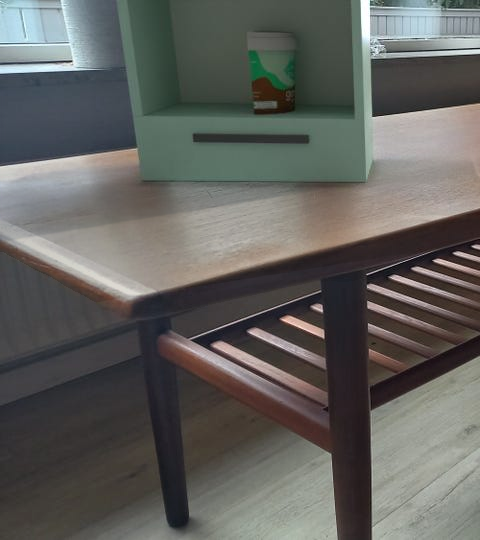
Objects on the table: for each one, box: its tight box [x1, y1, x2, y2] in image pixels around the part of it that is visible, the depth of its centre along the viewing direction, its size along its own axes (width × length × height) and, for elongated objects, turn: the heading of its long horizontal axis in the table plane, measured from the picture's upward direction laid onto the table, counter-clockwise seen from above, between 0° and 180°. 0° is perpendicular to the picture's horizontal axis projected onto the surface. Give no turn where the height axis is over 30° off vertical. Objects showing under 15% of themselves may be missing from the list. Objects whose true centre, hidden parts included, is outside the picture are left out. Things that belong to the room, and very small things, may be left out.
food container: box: [247, 31, 300, 115], centre depth 91 cm, size 12×6×10 cm, turn 13°
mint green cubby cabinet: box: [116, 0, 374, 183], centre depth 91 cm, size 17×28×25 cm, turn 95°
